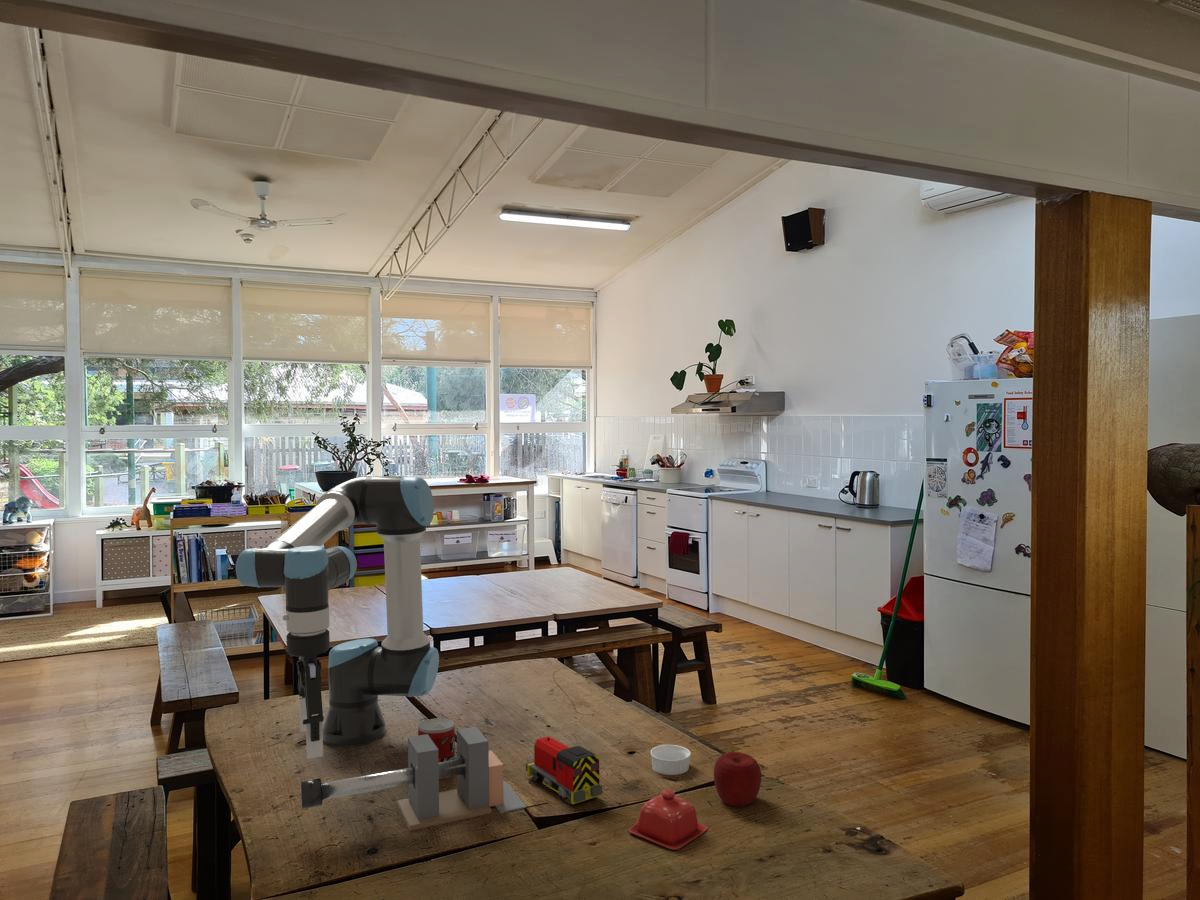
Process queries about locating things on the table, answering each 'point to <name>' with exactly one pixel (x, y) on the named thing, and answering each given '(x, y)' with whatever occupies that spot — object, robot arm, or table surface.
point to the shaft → (368, 783)
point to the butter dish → (668, 821)
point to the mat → (510, 800)
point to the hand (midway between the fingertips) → (311, 743)
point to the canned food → (440, 736)
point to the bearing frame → (424, 794)
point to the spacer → (495, 781)
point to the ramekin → (670, 759)
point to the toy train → (566, 769)
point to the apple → (737, 778)
